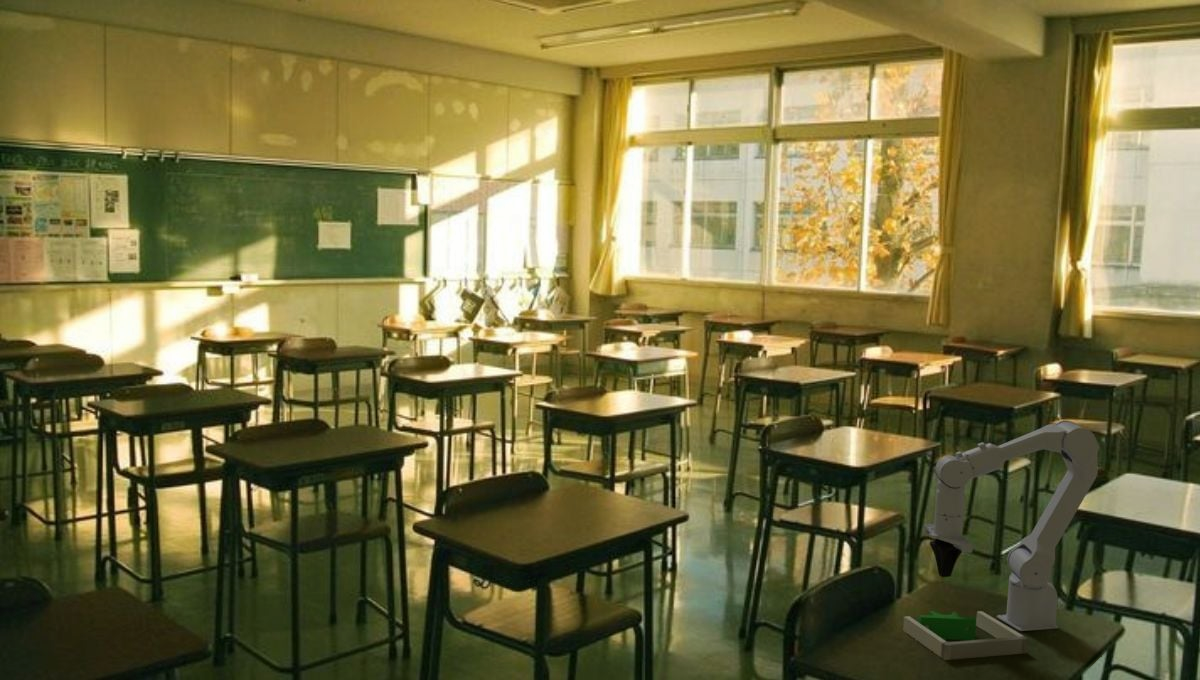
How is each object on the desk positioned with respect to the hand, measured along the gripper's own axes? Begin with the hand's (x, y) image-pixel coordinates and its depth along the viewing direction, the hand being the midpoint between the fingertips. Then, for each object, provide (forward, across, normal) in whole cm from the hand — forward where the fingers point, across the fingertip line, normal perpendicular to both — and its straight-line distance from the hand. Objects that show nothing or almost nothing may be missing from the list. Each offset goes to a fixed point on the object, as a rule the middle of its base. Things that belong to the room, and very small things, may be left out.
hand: (944, 575), depth 216 cm
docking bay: (+9, +12, -3) cm, 16 cm away
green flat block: (+10, +9, -5) cm, 14 cm away
